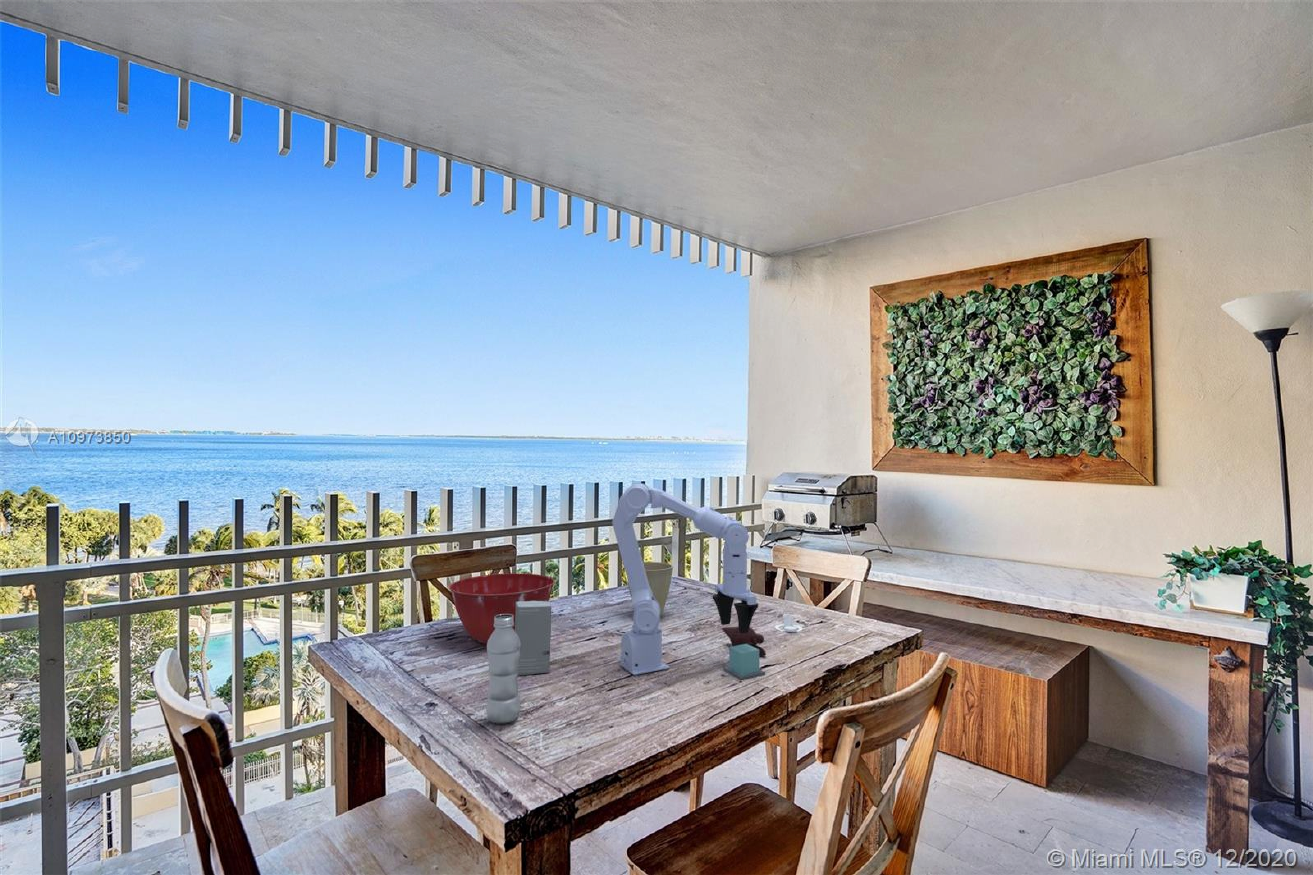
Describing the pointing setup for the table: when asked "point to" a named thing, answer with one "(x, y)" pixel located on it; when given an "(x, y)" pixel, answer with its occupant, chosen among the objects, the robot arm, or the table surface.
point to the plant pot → (658, 581)
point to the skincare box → (533, 636)
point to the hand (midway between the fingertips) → (734, 628)
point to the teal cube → (744, 659)
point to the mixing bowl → (495, 599)
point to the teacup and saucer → (788, 624)
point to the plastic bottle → (503, 671)
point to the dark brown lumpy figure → (745, 638)
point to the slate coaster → (744, 674)
